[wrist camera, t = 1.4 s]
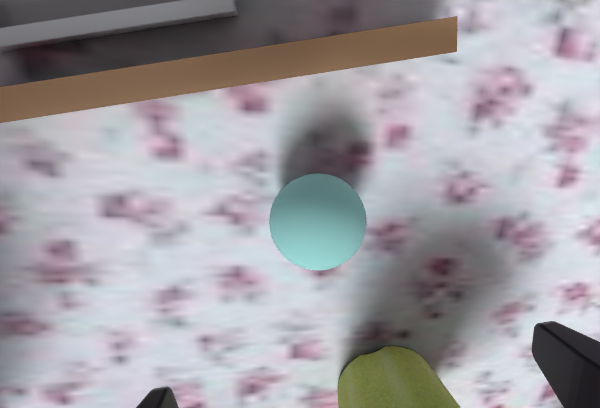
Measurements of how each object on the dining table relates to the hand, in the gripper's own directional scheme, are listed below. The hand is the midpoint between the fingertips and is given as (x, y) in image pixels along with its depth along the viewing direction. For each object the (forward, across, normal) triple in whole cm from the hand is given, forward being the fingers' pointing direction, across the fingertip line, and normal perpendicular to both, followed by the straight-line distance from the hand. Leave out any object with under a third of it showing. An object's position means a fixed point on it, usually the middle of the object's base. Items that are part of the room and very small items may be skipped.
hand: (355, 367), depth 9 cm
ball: (+11, 0, 0) cm, 11 cm away
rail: (+11, +3, -7) cm, 13 cm away
